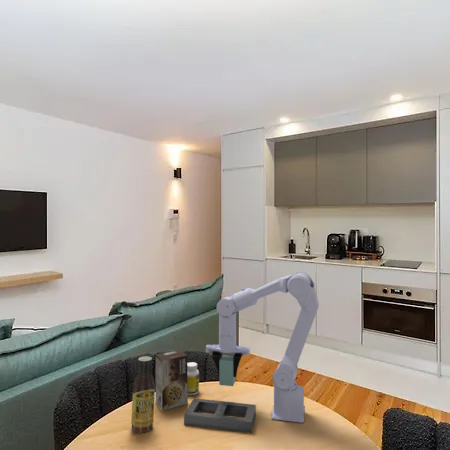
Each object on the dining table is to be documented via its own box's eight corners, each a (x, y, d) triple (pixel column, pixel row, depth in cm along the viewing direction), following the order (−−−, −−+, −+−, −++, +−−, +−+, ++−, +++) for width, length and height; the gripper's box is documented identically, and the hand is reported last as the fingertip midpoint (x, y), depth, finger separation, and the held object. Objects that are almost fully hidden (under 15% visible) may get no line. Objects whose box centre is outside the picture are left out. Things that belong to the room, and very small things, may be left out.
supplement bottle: (198, 395, 119) (198, 367, 119) (182, 395, 119) (182, 367, 119) (199, 388, 124) (199, 361, 125) (184, 388, 125) (184, 361, 125)
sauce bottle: (134, 436, 95) (134, 364, 96) (129, 425, 101) (129, 357, 101) (157, 430, 98) (157, 360, 99) (151, 419, 104) (151, 353, 104)
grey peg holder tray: (255, 414, 107) (255, 404, 107) (251, 433, 97) (251, 422, 97) (193, 407, 111) (193, 398, 111) (183, 424, 101) (183, 414, 101)
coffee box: (180, 396, 119) (180, 348, 119) (188, 404, 113) (188, 354, 114) (154, 402, 114) (155, 353, 114) (161, 411, 109) (162, 360, 109)
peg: (235, 380, 116) (235, 356, 116) (232, 386, 111) (233, 361, 112) (222, 379, 117) (222, 355, 117) (219, 384, 112) (219, 360, 112)
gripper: (251, 331, 117) (250, 372, 117) (209, 329, 120) (209, 368, 120) (248, 338, 110) (248, 381, 110) (204, 335, 113) (203, 377, 113)
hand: (227, 375), depth 114 cm, fingers closed on peg, 4 cm apart
